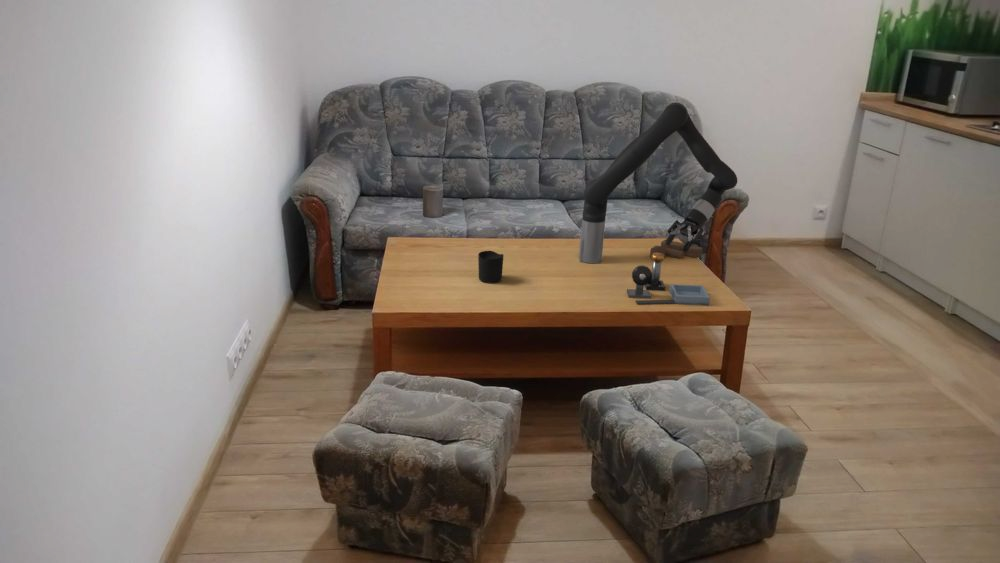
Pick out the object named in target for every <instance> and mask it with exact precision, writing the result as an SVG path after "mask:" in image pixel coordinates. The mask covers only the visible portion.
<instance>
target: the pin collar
mask: <svg viewBox="0 0 1000 563" xmlns="http://www.w3.org/2000/svg"><path fill="white" fill-rule="evenodd" d="M650 282H651V281H650ZM644 288H645V290H649V291H657V290H658V291H661V292H663V291H664V292H666V285H665V283H664V281H663V280H659V286H651V285H650V283H648V284H647V285H644Z"/></svg>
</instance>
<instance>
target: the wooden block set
mask: <svg viewBox="0 0 1000 563" xmlns="http://www.w3.org/2000/svg"><path fill="white" fill-rule="evenodd" d="M665 241H666V239H663V240H662V241H661V242H660V245H654V246H653V247H651V248H650V254H649V259H650V258H652V253H662V254H664V257H665V258H666V257H671V258H677V259H680V258H682V259H683V257H688V258H692V257H693V259H695V258H701V257H702V255H703V249H704V248H703V247H702V246H698V245H691V247H690V248H689V249H688V251H686V252H683V250H682V247H683V246H684V245H685V243H683V242H678V241H675V240H673V241H672V242H671V244H670V245H669V246H668V245H666V243H665Z"/></svg>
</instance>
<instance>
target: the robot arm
mask: <svg viewBox="0 0 1000 563" xmlns="http://www.w3.org/2000/svg"><path fill="white" fill-rule="evenodd" d="M675 132H676V133H677V134H679V136H680V137H681V138H682V139H683V141H684V142H685V143H686V144H685V145H687V147H688V148H689V150H690V152H691V153H692V155H693V157H694V158H695V160H696V161H697V163H698V164H700V166H701V168H703V170H704V172H706V173H709V174H712V175H713V178H712V179H711V180H710V182H709V183H708V186H707V188H706V190H705V192H703V194H702V196H701V197H700V198H699V199H698V200H697V201H696V203H694V204H693V206H692V207H691V209H690V210H689V212H688V213H687V214H686V216H685V217H684V220H683V221H682V222H680V221H679V220H678V219H677V220H674V222H673V223H672V224H671V226H670V227H669V228H668V229H667V234H669V236H668V237H666V239H665V240H666V241H665V243H666V245H668V246H669V245H670V244H671V242H672V241H675V240H674V239H675V238H677V237H686V238H687V239H688V240H686V241H685V243H684V244H685V245H684V246H683V247H682V250H683V252H686V251H688V249H689V248H690V247H691V245H692V246H694V245H695V246H698V245H699V244H700V242H701V241H702V240H703V238H704V236H705V235H706V231H705V230H704V228H703V227H704V226H705V225H706V224H707V223H708V221H709V220H710V218H711V217H712V215H713V213H714V212H715V210H716V209H717V208H718V207H719V205H720V204H721V203H722V199H723V197H722V196H723V194H724V193H725V192H726V191H729V190H731V189H733V188H735V187H736V186H737V184H738V176H737V174H736V173H735V171H734V170H733V169H732V168H731V167H730V166H729V165H728V164H726V163H725V162H724V161H723V160H721V159H720V157H719V155H718V153H716V151H715V150H714V149H713V148H712V146H711V145H710V144H709V142H707V140H706V139H705V137H703V135H702V134H701V133H700V131H699V130H698V128H697V127H696V126H695V124H694V122H693V120H692V119H691V117H690V115H689V112H688V109H687V108H686V106H685V105H684V104H682V103H680V102H672V103H669V104H668V105H667V106H666V107H665V109H664V110H663V112H662V113H661V115H660V116H659V117H658V118H657V119H656V121H655V122H654V123H653V124H652V125H651V126H650V127H649V128H648V129H647V130H645V131H644V132H642V133H640V134H639V135H638V136H637V137H635V138H634V139H633V140H632V141H631V142H629V143H628V144H627V145H626V146H625V148H623V149H622V150H621V151H620V152H619V154H618V155H617V156H616V157H615V159H614V160H613V161H612V163H611V164H610V165H609V167H608V168H607V169H606V170H605V171H604V172H603V173H602V174H601V175H600V176H599V177H598V178H596V179H595V178H594V179H592V180H590V181H589V182H588V183H587V184H586V185H585V188H584V191H583V198H584V199H583V200H584V201H583V209H582V218H581V219H582V220H581V231H580V232H581V233H580V237H579V238H580V240H579V251H578V260H579V262H582V263H585V264H598V263H599V264H600V263H601V262H602V260H603V250H604V240H605V239H604V238H605V229H606V228H605V227H606V225H605V224H606V216H607V209H608V207H607V206H608V199H609V196H610V195H611V193H613V191H614V190H615V189H616V188H617V187H618V186H619V185H620V184H621V183H622V182H624V181H625V180H626V179H627V178H629V177H630V176H631V175H632V174H634V173H635V172H636V170H638V169H640V168H641V166H643V164H644V163H645V162H646V161H648V159H649V158H650V157H651V156H652V155H653V154H654V153H655V152H656V150H657V149H658V148H659V147H660V146H661V145H662V143H664V142H665V141H666V139H668V138H669V137H670V136H671V135H673V134H674V133H675Z"/></svg>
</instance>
